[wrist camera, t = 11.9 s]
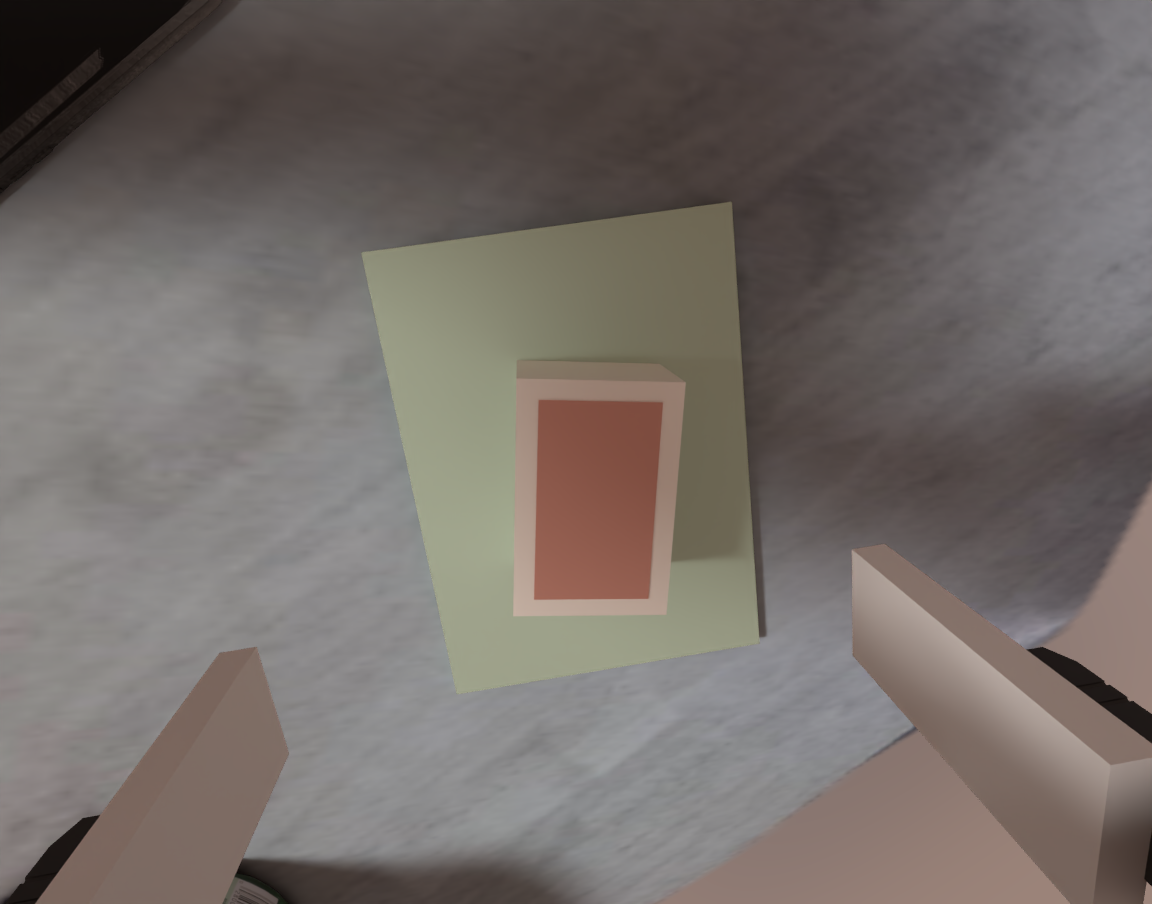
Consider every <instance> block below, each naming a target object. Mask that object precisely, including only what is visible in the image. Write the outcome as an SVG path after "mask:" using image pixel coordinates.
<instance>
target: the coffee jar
mask: <svg viewBox="0 0 1152 904" xmlns="http://www.w3.org/2000/svg"><path fill="white" fill-rule="evenodd" d="M222 904H288V903H287V902H286V901H285V900H284V899H283V898H282V897H281V895H280V894H279V893H278V892H276V891H275V890H274V889H272V888H271V887H269V886H268V885H266V884H264V883H263V882H261V881H259V880H257V879H255V878H253V877H251V876H247V875H242V874H237V873H236V874H235V876H234V879H233V881H232V883H231V885H230V888H229V890H228V892H227V894H226V897H225V899H224V901H223V903H222Z"/></svg>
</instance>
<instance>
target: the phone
mask: <svg viewBox="0 0 1152 904" xmlns="http://www.w3.org/2000/svg"><path fill="white" fill-rule="evenodd" d="M221 2H222V0H0V193H1V192H2V191H4V189H6V188H7V187H8V186H9V185H10V184H11V183H13V182H15V181H16V180H17V179H18V178H20V177H21V176H22V175H23V174H24V173H25V172H27V171H28V170H29V169H30V168H31V166H32V165H34V164H35V163H38V162H39V161H40V160H42V159H43V158H44V157H45V156H46V155H47V154H49V153H50V152H51V151H52V150H53V149H52V148H54V147H55V146H56V145H57V144H58V143H59V142H61V141H62V140H63V139H64V138H65V137H66V136H68V135H69V134H70V133H71V132H72V131H73V130H75V129H76V128H77V127H78V126H79V125H80V124H82V123H83V122H84V121H85V120H86V119H87V118H89V117H90V116H91V115H92V114H93V113H94V112H96V111H97V110H98V109H99V108H100V107H102V106H103V105H104V104H105V103H106V102H107V101H109V100H110V99H111V98H112V97H113V96H114V95H116V94H117V93H118V92H119V91H120V90H121V89H123V88H124V87H125V86H126V85H127V84H128V83H130V82H131V81H132V80H133V79H134V78H135V77H137V76H138V75H139V74H140V73H141V72H142V71H144V70H145V69H146V68H147V67H148V66H149V65H151V64H152V63H153V62H154V61H155V60H156V59H158V58H159V57H160V56H161V55H162V54H164V53H165V52H166V51H167V50H168V49H169V48H171V47H172V46H173V45H174V44H175V43H176V42H178V41H179V40H180V39H181V38H182V37H183V36H185V35H186V34H187V33H188V32H189V31H190V30H192V29H193V28H194V27H195V26H196V25H197V24H199V23H200V22H201V21H202V20H203V19H204V18H206V17H207V16H208V15H209V14H210V13H211V12H213V11H214V10H215V9H216V8H217V7H218V6H219V4H220V3H221Z"/></svg>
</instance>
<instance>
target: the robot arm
mask: <svg viewBox="0 0 1152 904" xmlns="http://www.w3.org/2000/svg"><path fill="white" fill-rule="evenodd" d="M852 624H853V656H854V657H855V659H856V660H857V661H858V662H859V663H860V664H861V665H862V667H863V668H864V669H865V670H866V671H867V672H868V673H869V675H870V676H871V677H872V678H873V679H874V680H875V681H876V683H877V684H878V685H879V686H880V687H881V688H882V689H883V691H884V692H885V693H886V694H887V695H888V696H889V697H890V698H891V700H892V701H893V702H894V703H895V704H896V705H897V706H898V708H899V709H900V710H901V711H902V712H903V713H904V714H905V716H906V717H907V718H908V719H909V720H910V721H911V722H912V724H913V725H914V726H915V727H916V728H917V729H918V730H919V732H920V733H921V734H922V735H923V736H924V737H925V738H926V739H927V740H928V742H929V743H930V744H931V745H932V746H933V748H934V749H935V750H936V751H937V752H938V753H939V754H940V755H941V756H942V758H943V759H944V760H945V761H946V762H947V763H948V765H949V766H950V767H951V768H952V769H953V770H954V771H955V772H956V774H957V775H958V776H959V777H960V778H961V779H962V780H963V782H964V783H965V784H966V785H967V786H968V787H969V788H970V790H971V791H972V792H973V793H974V794H975V795H976V797H977V798H979V800H980V801H981V802H982V803H983V804H984V805H985V807H986V808H987V809H988V810H989V811H990V813H991V814H992V815H993V816H994V817H995V818H996V819H997V820H998V822H999V823H1000V824H1001V825H1002V826H1003V827H1004V828H1005V830H1006V831H1007V832H1008V833H1009V834H1010V835H1011V836H1012V837H1013V839H1014V840H1015V841H1016V842H1017V843H1018V844H1019V846H1020V847H1021V848H1022V849H1023V850H1024V851H1025V852H1026V854H1027V855H1028V856H1029V857H1030V858H1031V859H1032V860H1033V862H1034V863H1035V864H1036V865H1037V866H1038V867H1039V868H1040V870H1041V871H1042V872H1043V873H1044V874H1045V875H1046V876H1047V878H1048V879H1049V880H1050V881H1051V882H1052V883H1053V884H1054V885H1055V887H1056V888H1057V889H1058V890H1059V891H1060V892H1061V893H1062V895H1063V896H1064V897H1065V898H1066V899H1067V900H1068V901H1069V902H1070V904H1143V901H1144V895H1145V888H1146V882H1148V883H1149V884H1150V885H1151V886H1152V714H1151V713H1149V712H1148V711H1146V710H1145V709H1144V708H1142V707H1141V706H1139V705H1138V704H1136V703H1135V702H1134V701H1130V702H1129V701H1128V699H1127V697H1126V696H1125V695H1124V694H1122V693H1121V692H1119V691H1118V690H1117V689H1115V688H1113V687H1112V686H1111V685H1106V684H1105V683H1104V680H1102V679H1101V678H1099V677H1098V676H1096V675H1095V674H1094V673H1092V672H1091V671H1089V670H1088V669H1087V668H1085V667H1084V666H1082V665H1081V664H1079V663H1078V662H1076V661H1074V660H1072V659H1069V658H1067V657H1065V656H1062V655H1060V654H1057V653H1055V652H1053V651H1051V650H1048V649H1046V648H1044V647H1040V648H1034V649H1028V650H1026V649H1025V648H1023V647H1022V646H1021V645H1019V644H1018V643H1017V642H1015V641H1014V640H1013V639H1011V638H1010V637H1009V636H1007V635H1006V634H1005V633H1003V632H1002V631H1001V630H999V629H998V628H997V627H995V626H994V625H993V624H991V623H990V622H988V621H987V620H986V619H984V618H983V617H982V616H980V615H979V614H978V613H976V612H975V611H974V610H972V609H971V608H970V607H968V606H967V605H966V604H964V603H963V602H962V601H960V600H959V599H958V598H956V597H955V596H954V595H952V594H951V593H950V592H948V591H947V590H946V589H944V588H943V587H942V586H940V585H939V584H938V583H936V582H935V581H934V580H932V579H931V578H930V577H928V576H927V575H926V574H924V573H923V572H922V571H920V570H919V569H918V568H916V567H915V566H914V565H912V564H911V563H910V562H908V561H907V560H906V559H904V558H903V557H902V556H900V555H899V554H898V553H896V552H895V551H894V550H892V549H891V548H890V547H888V546H887V545H886V544H881V545H875V546H869V547H863V548H857V549H852ZM288 755H289V751H288V748H287V745H286V742H285V738H284V735H283V732H282V728H281V725H280V722H279V719H278V715H277V712H276V709H275V706H274V702H273V699H272V696H271V693H270V689H269V686H268V683H267V679H266V676H265V673H264V670H263V666H262V663H261V660H260V657H259V653H258V650H257V647H253V648H247V649H241V650H235V651H228V652H222V653H219V655H218V656H217V657H216V659H215V660H214V661H213V663H212V664H211V665H210V667H209V668H208V670H207V671H206V672H205V674H204V675H203V676H202V678H201V679H200V680H199V682H198V683H197V685H196V686H195V687H194V689H193V690H192V691H191V693H190V694H189V695H188V697H187V698H186V699H185V701H184V702H183V704H182V705H181V706H180V708H179V709H178V710H177V712H176V713H175V714H174V716H173V717H172V719H171V720H170V721H169V723H168V724H167V725H166V727H165V728H164V729H163V731H162V732H161V733H160V735H159V736H158V738H157V739H156V740H155V742H154V743H153V744H152V746H151V747H150V748H149V750H148V751H147V752H146V754H145V755H144V757H143V758H142V759H141V761H140V762H139V763H138V765H137V766H136V767H135V769H134V770H133V772H132V773H131V774H130V776H129V777H128V778H127V780H126V781H125V782H124V784H123V785H122V786H121V788H120V789H119V791H118V792H117V793H116V795H115V796H114V797H113V799H112V800H111V801H110V803H109V804H108V806H107V807H106V808H105V810H104V811H103V812H102V814H101V815H98V816H92V817H87V818H83V819H81V820H80V821H79V822H78V823H77V824H76V825H74V826H73V827H72V828H71V829H70V830H68V831H67V832H66V833H65V834H64V835H63V836H61V837H60V838H59V839H58V840H57V841H56V842H54V843H53V844H52V845H51V846H50V847H49V848H48V849H47V851H46V852H45V853H44V854H43V856H42V857H41V858H40V859H39V861H38V862H37V863H36V865H35V866H34V867H33V868H32V870H31V871H30V872H29V873H28V875H27V876H26V877H25V883H24V884H20V885H19V886H18V888H17V889H16V890H15V891H14V893H13V894H12V895H11V896H10V898H9V899H8V900H7V902H6V903H5V904H222V903H223V901H224V899H225V897H226V894H227V892H228V890H229V888H230V885H231V883H232V881H233V879H234V876H235V874H236V872H237V870H238V867H239V865H240V863H241V861H242V858H243V856H244V854H245V852H246V849H247V847H248V845H249V843H250V840H251V838H252V836H253V834H254V831H255V829H256V827H257V825H258V822H259V820H260V818H261V816H262V813H263V811H264V809H265V807H266V804H267V802H268V800H269V798H270V795H271V793H272V791H273V788H274V786H275V784H276V782H277V779H278V777H279V775H280V773H281V770H282V768H283V766H284V764H285V761H286V759H287V757H288Z"/></svg>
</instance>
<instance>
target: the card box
mask: <svg viewBox="0 0 1152 904" xmlns="http://www.w3.org/2000/svg"><path fill="white" fill-rule="evenodd" d="M685 386H686V382H685V381H683V380H682V379H680V378H679V377H677V376H676V375H675V374H673V373H672V372H670V371H669V370H667V369H666V368H665V367H663V366H662V365H660V364H652V363H613V362H575V361H536V360H517V369H516V444H515V518H514V595H513V616H600V615H666V614H667V602H668V590H669V578H670V566H671V554H672V542H673V530H674V518H675V506H676V494H677V482H678V470H679V458H680V446H681V434H682V422H683V410H684V398H685Z"/></svg>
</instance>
